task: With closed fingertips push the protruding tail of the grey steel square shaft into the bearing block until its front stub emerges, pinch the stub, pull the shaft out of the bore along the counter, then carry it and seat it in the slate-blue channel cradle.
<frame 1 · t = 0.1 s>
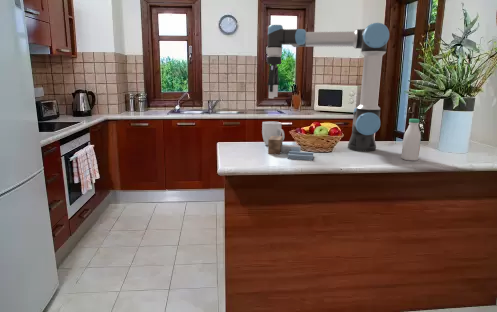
hand: (273, 97, 189), 28 cm above the counter, fingers open, 13 cm apart
milk bottle: (409, 159, 175), on the counter
bearing block: (275, 151, 187), on the counter
cradle: (300, 157, 175), on the counter
mug: (272, 145, 206), on the counter
shaft: (285, 153, 186), on the counter
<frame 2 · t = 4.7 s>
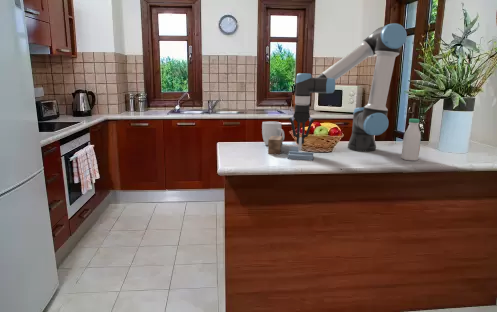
hand: (299, 149, 184), 2 cm above the counter, fingers closed
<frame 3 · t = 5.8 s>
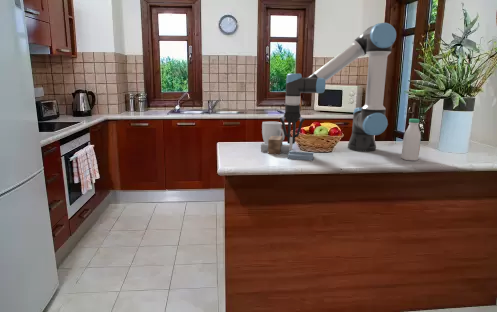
hand: (290, 149, 185), 2 cm above the counter, fingers closed
shaft: (275, 152, 188), on the counter, touching gripper
everything else where it was.
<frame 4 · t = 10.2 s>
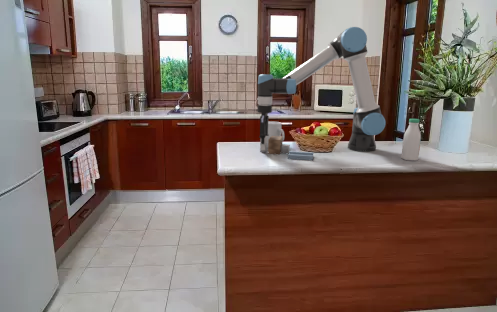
hand: (263, 148, 188), 1 cm above the counter, fingers closed on shaft, 4 cm apart
shaft: (274, 151, 187), on the counter, touching gripper
everything else where it was.
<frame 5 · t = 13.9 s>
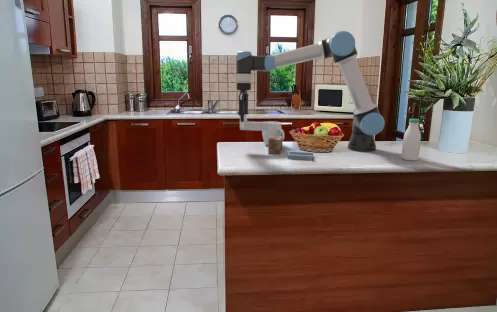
hand: (243, 127, 188), 12 cm above the counter, fingers closed on shaft, 4 cm apart
shaft: (254, 129, 187), point 11 cm above the counter, touching gripper
everything else where it was.
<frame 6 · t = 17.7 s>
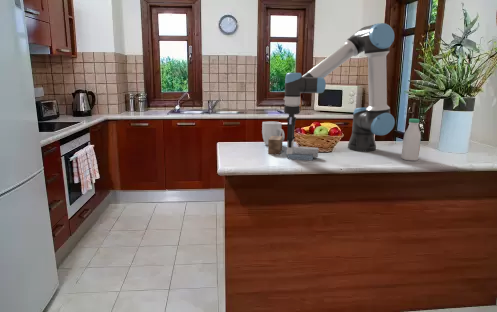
hand: (290, 152, 176), 2 cm above the counter, fingers closed on cradle, shaft, 4 cm apart
shaft: (302, 155, 175), point 1 cm above the counter, touching cradle, gripper
everything else where it was.
when the fingers open (2 cm above the counter, at t = 18.7 s): shaft stays where it is, resting on cradle.
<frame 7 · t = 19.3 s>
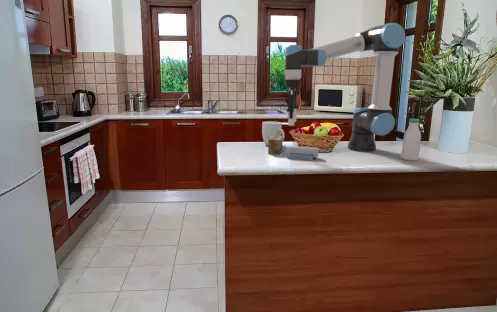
hand: (292, 123, 173), 17 cm above the counter, fingers open, 13 cm apart
shaft: (302, 155, 175), point 1 cm above the counter, touching cradle
everything else where it was.
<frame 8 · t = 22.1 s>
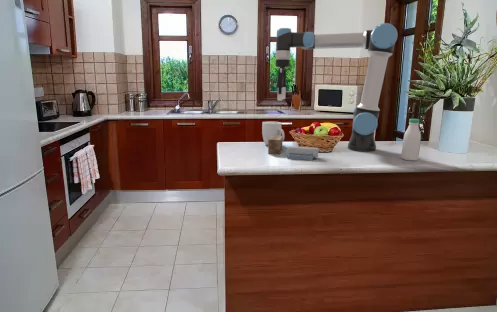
hand: (281, 99, 192), 27 cm above the counter, fingers open, 13 cm apart
nothing on the counter moved.
at the end: shaft 0.9 cm off-centre on the cradle, point 1.0 cm above the cradle's base; the gripper is holding nothing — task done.
